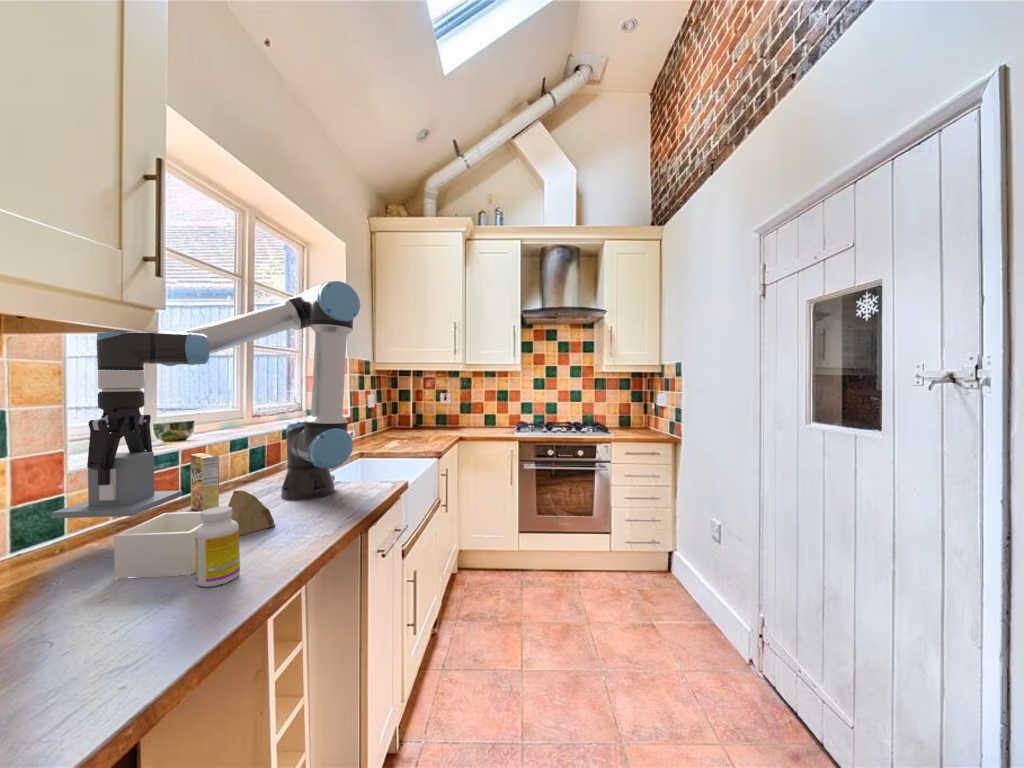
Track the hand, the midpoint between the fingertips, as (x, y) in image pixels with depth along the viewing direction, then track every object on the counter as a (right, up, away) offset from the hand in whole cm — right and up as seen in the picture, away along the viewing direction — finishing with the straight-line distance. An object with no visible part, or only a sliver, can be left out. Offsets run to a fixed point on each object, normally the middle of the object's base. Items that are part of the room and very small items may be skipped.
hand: (122, 494), depth 93 cm
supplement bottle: (+32, -12, -15) cm, 37 cm away
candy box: (0, -11, +26) cm, 28 cm away
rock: (+22, -11, +9) cm, 27 cm away
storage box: (+18, -11, -8) cm, 23 cm away
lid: (0, -3, 0) cm, 3 cm away
